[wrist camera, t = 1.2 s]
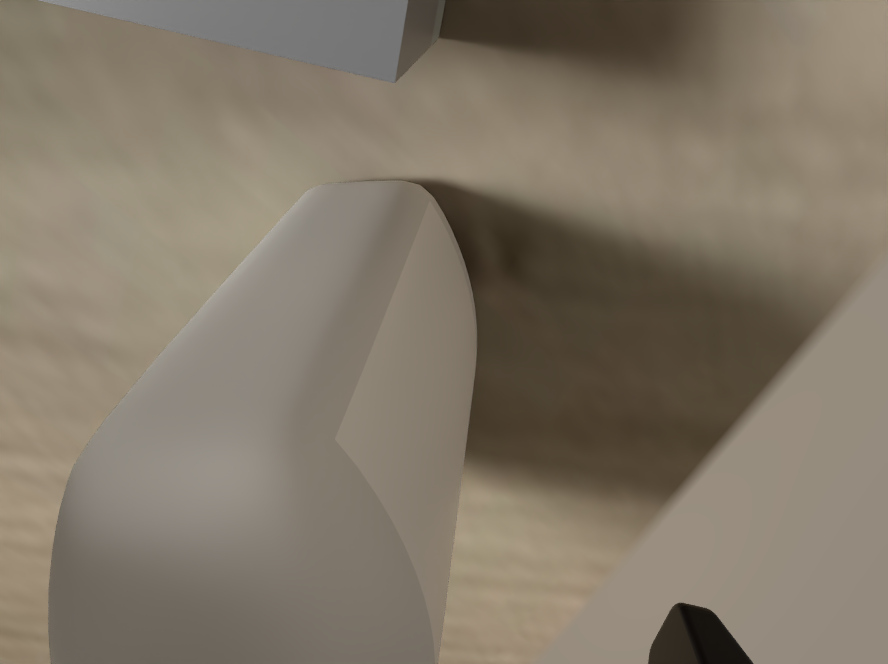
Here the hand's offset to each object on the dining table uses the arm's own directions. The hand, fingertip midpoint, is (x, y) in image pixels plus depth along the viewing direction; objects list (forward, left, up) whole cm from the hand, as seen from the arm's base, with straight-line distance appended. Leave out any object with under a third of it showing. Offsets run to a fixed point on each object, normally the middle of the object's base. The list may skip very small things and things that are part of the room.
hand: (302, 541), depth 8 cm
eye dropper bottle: (0, 0, -6) cm, 6 cm away
